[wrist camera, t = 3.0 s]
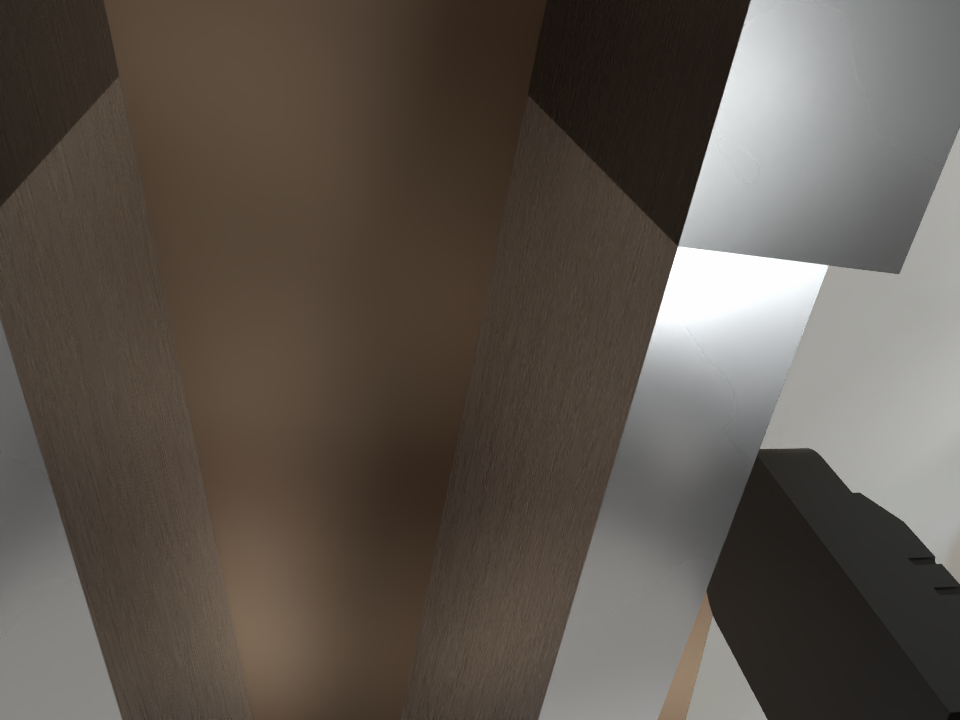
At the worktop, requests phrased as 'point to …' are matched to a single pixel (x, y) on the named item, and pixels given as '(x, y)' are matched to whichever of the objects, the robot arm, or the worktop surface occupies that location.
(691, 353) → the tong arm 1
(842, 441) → the worktop surface
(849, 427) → the worktop surface
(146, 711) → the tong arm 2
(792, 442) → the worktop surface
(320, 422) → the tong rest
